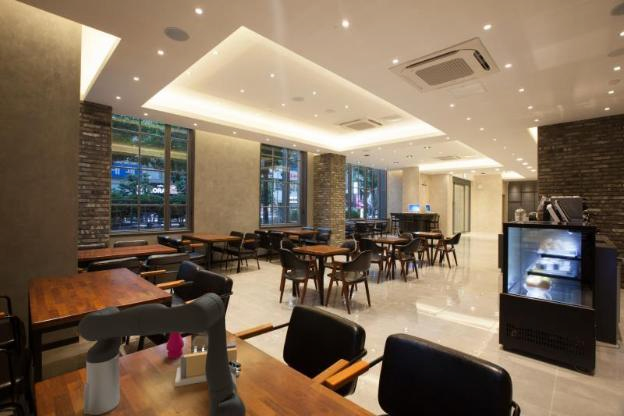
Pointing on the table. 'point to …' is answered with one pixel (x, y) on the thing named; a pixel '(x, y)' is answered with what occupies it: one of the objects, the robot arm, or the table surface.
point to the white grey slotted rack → (197, 378)
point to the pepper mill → (175, 345)
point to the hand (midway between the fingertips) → (223, 358)
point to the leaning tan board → (199, 362)
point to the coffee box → (199, 341)
